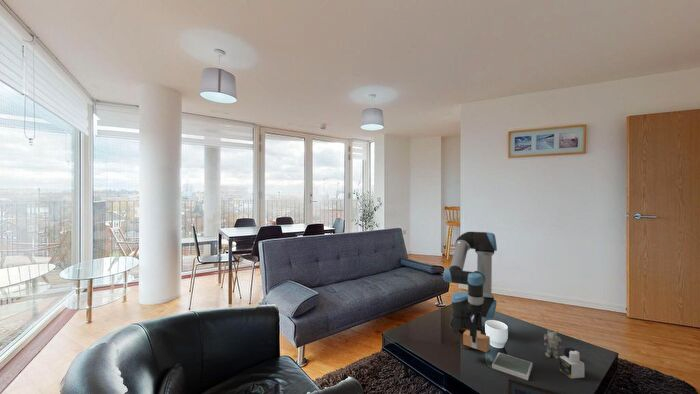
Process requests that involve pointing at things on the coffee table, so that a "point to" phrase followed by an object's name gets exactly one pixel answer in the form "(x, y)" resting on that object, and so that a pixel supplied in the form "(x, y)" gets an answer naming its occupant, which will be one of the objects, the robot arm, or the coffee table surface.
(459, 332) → the cup
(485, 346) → the tan rectangular pillar
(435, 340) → the coffee table surface
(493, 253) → the robot arm
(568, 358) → the medicine bottle
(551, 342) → the figurine
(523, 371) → the framed panel
